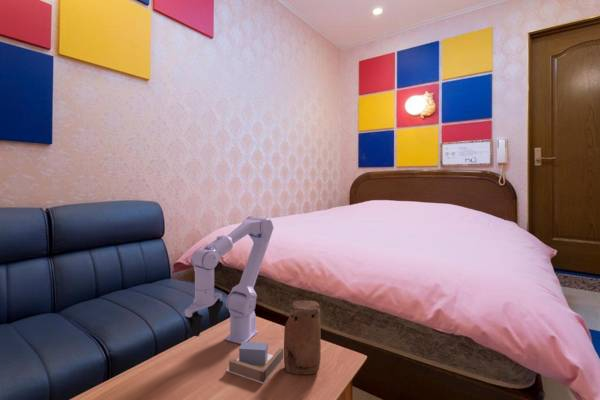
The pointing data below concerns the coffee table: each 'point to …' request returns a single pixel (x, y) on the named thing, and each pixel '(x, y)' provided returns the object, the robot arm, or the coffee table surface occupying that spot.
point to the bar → (253, 353)
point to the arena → (256, 367)
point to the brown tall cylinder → (303, 338)
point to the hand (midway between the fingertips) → (204, 329)
